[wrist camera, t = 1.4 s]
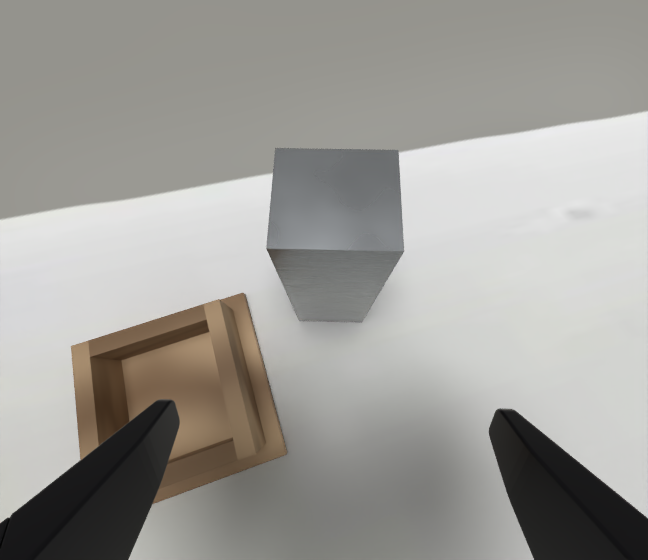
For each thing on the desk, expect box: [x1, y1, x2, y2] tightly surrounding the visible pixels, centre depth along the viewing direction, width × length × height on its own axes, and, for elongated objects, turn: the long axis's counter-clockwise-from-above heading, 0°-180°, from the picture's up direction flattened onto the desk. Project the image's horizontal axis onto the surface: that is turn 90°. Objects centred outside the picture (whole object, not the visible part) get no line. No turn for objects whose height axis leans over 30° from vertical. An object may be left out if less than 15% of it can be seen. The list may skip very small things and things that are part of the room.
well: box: [71, 293, 287, 504], centre depth 19 cm, size 11×11×4 cm
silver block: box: [266, 148, 404, 322], centre depth 17 cm, size 4×4×13 cm
